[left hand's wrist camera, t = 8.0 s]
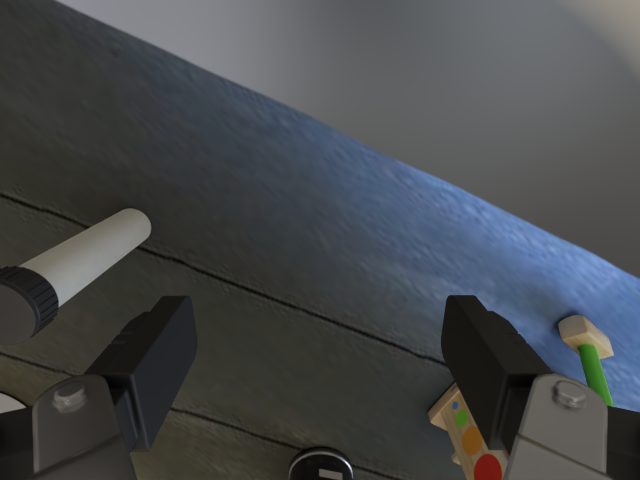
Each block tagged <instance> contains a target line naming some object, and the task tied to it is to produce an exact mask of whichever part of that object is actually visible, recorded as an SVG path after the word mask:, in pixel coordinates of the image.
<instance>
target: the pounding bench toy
mask: <svg viewBox="0 0 640 480" xmlns="http://www.w3.org/2000/svg"><path fill="white" fill-rule="evenodd" d="M558 327H559V331H560V336H561V339H562V341H563V342H564V343H565V344H567V345H568V346H569V347H570V348H571V349H572V350H573V351H575V352H576V353H577V354H578V355H579V356H580V358H581V362H582V366H583V370H584V373H585V377H586V381H587V385H588V387H590V388H591V389H593V390H594V391H595V392H596V393H598V394H599V395H600V396H601V398H602V399H603V400H604V402H605V403H606V405H607V406H612V407H614V405H613V402H612V399H611V395H610V392H609V389H608V385H607V382H606V379H605V375H604V372H603V369H602V365H601V362H600V359H602V358H606V357H610V356H613V355H614V353H613V350H612V347H611V344H610V341H609V339H608V337H607V336H605V335H604V334H603V333H602V332H601V331H600V330H599V329H598V328H597V327H595V326H594V325H593V324H592V323H591V322H590V321H589V320H588V319H586V318H585V317H584V316H582V315H573V316H570V317H567V318H565V319H563V320H562V321H560V322H559V323H558ZM553 373H554V372H553ZM554 374H556V373H554ZM556 375H558V374H556ZM428 416H429V419H430V421H431V423H432V424H434V425H436V426H438V427H440V428H442V429H444V430H446V431H448V433H449V436H450V438H451V441H452V443H453V446H454V448H455V451H456V452H455V453H454V454H453V456H452V457H451V459H452V461H453V462H455V463H457V464H459V465H461V466H462V469H463V471H464V474H465V476H466V479H467V480H503V477H504V474H505V470H506V467H507V464H508V461H509V457H510V456H509V454H508V452H507V450H488V448H487V446H486V444H485V442H484V440H483V438H482V435H481V433H480V431H479V429H478V427H477V425H476V423H475V421H474V419H473V417H472V415H471V413H470V411H469V409H468V407H467V405H466V403H465V401H464V398H463V396H462V394H461V392H460V390H459V388H458V386H457V384H456V382H455V383H454V384H453V385H452V386H451V387H450V388H449V389H448V390H447V391H446V393H445V394H444V395H443V396H442V397H441V398H440V399H439V400H438V401H437V403H436V404H435V405H434V406H433V407H432V408H431V409H430V410H429V412H428Z"/></svg>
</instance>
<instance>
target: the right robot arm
mask: <svg viewBox="0 0 640 480" xmlns="http://www.w3.org/2000/svg"><path fill="white" fill-rule="evenodd" d="M22 408H26V406H24V405H23V404H21V403H20V402H18V401H17V400H15V399H13V398H11V397H9V396H7V395H4V394H2V393H0V413H4V412H8V411H13V410H17V409H22Z"/></svg>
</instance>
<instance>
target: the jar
mask: <svg viewBox="0 0 640 480" xmlns="http://www.w3.org/2000/svg"><path fill="white" fill-rule="evenodd" d="M150 233H151V223H150V221H149V219H148V217H147V216H146V215H145V214H144V213H142V212H141V211H139V210H136V209H131V208H129V209H124V210H122V211H120V212H118V213H116V214H114V215H113V216H111V217H109V218H107V219H105V220H103V221H101V222H100V223H98V224H96V225H94V226H92V227H90V228H89V229H87V230H85V231H83V232H81V233H79V234H77V235H76V236H74V237H72V238H70V239H68V240H66V241H64V242H63V243H61V244H59V245H57V246H55V247H53V248H52V249H50V250H48V251H46V252H44V253H42V254H40V255H39V256H37V257H35V258H33V259H31V260H29V261H27V262H26V263H24V264H22V265H20V266H18V267H25V268H27V269H30V270H33V271H35V272H37V273H39V274H40V275H42V276H43V277H44V278H46V279H47V280H48V281H49V282H50V284H51V285H52V286H53V288H54V289H55V291H56V293H57V296H58V300H59V307H60V306H61V305H62V304H64V303H65V302H66V301H68V300H69V299H70V298H71V297H73V296H74V295H75V294H77V293H78V292H79V291H80V290H82V289H83V288H84V287H86V286H87V285H88V284H89V283H91V282H92V281H93V280H94V279H96V278H97V277H98V276H100V275H101V274H102V273H103V272H105V271H106V270H107V269H109V268H110V267H111V266H112V265H114V264H115V263H116V262H118V261H119V260H120V259H121V258H123V257H124V256H125V255H126V254H128V253H129V252H130V251H132V250H133V249H134V248H135V247H137V246H138V245H139V244H141V243H142V242H143V241H144V240H146V239H147V238H148V237H149V235H150ZM59 307H58V308H59Z"/></svg>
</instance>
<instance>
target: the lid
mask: <svg viewBox="0 0 640 480" xmlns="http://www.w3.org/2000/svg"><path fill="white" fill-rule="evenodd" d="M58 307H59V300H58V296H57V293H56V291H55V289H54V288H53V286H52V285H51V284H50V282H49V281H48V280H47V279H46V278H44V277H43V276H42V275H40V274H39V273H37V272H35V271H33V270H30V269H27V268H25V267H16V266H14V267H8V266H6V267H4V268H3V269H1V268H0V344H1V345H15V344H19V343H22V342H24V341H26V340H27V339H29V338H31V337H33V336H34V335H35V334H37V333H38V332H39V331H40V330H42V329H43V328H44V327H45V326H46V325H48V324H49V323H50V322H51V321H53V320H54V319H53V318H54V317H55V316H56V315H57V311H58V309H59V308H58Z"/></svg>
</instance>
